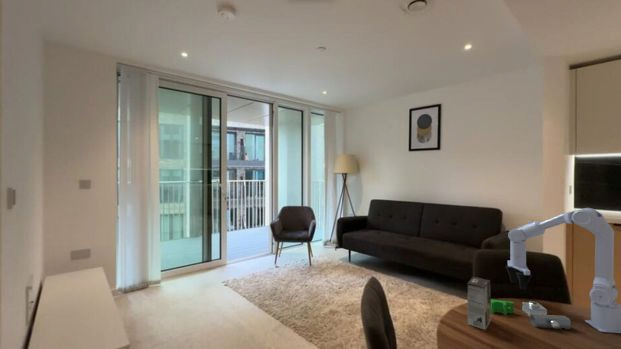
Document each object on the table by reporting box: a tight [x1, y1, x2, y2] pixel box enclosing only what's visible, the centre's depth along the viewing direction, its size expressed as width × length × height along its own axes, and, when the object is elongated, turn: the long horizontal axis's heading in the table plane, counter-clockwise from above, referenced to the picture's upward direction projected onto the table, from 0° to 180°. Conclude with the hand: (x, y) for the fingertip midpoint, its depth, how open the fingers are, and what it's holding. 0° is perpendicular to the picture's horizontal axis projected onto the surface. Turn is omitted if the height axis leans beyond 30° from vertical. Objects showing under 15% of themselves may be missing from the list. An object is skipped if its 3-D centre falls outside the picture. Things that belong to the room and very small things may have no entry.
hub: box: [521, 301, 548, 317], centre depth 120 cm, size 6×6×5 cm
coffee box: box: [466, 276, 492, 331], centre depth 113 cm, size 9×6×16 cm
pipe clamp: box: [491, 298, 515, 316], centre depth 121 cm, size 11×4×5 cm, turn 67°
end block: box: [529, 314, 572, 330], centre depth 109 cm, size 12×5×4 cm, turn 81°
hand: (518, 285), depth 131 cm, fingers open, 7 cm apart
